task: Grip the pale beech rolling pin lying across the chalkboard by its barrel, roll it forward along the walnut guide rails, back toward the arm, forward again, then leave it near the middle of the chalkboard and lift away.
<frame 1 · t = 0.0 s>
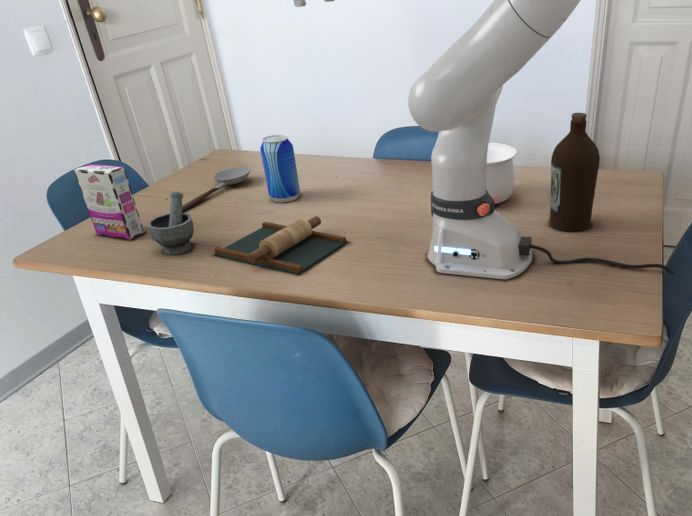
hand: (315, 3, 123), 48 cm above the table, tool pointing down, fingers open, 8 cm apart
candy bar box: (121, 234, 154), on the table
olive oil: (569, 224, 149), on the table
rolling pin: (286, 238, 141), point 3 cm above the table, slide at 0.0 cm
mortar and pestle: (179, 248, 146), on the table
spoon: (210, 196, 175), on the table
pot: (481, 200, 165), on the table
beer can: (285, 198, 171), on the table
chalkboard: (281, 248, 143), on the table
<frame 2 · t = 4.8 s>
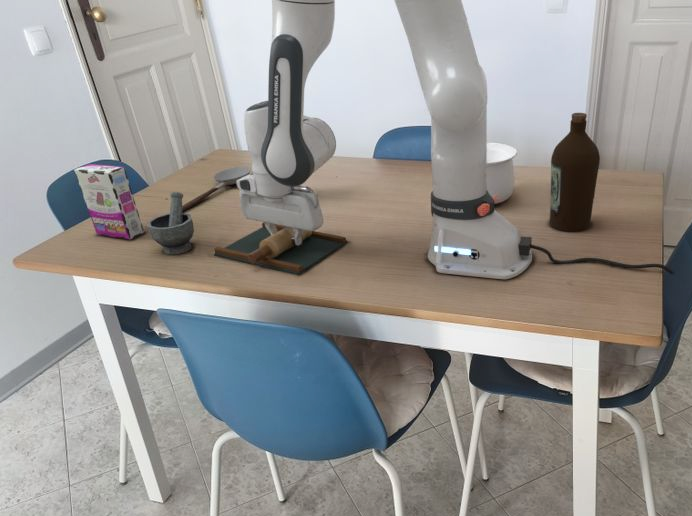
hand: (287, 242, 141), 2 cm above the table, tool pointing down, fingers closed on rolling pin, 4 cm apart
rolling pin: (286, 238, 141), point 3 cm above the table, slide at -0.1 cm, touching gripper
everything else where it was.
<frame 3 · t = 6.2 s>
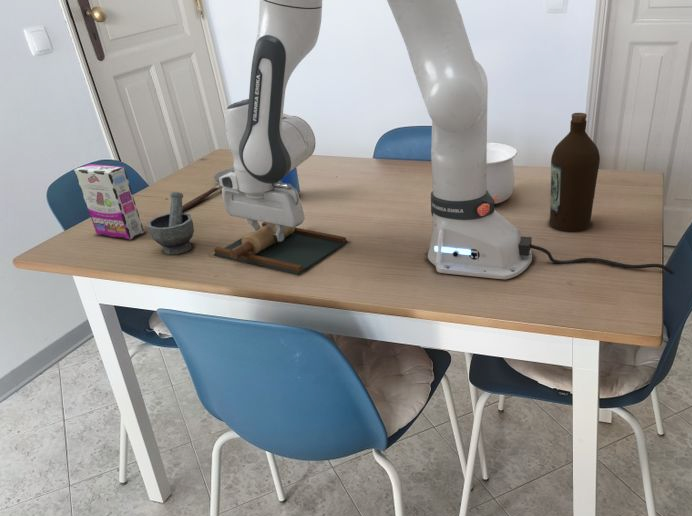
hand: (269, 238, 143), 2 cm above the table, tool pointing down, fingers closed on rolling pin, 4 cm apart
rolling pin: (269, 235, 143), point 3 cm above the table, slide at 5.0 cm, touching gripper
everything else where it was.
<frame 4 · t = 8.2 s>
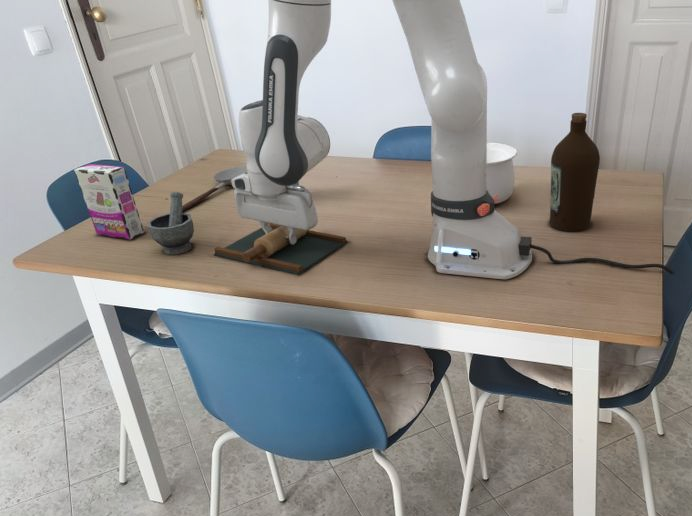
hand: (281, 241, 142), 2 cm above the table, tool pointing down, fingers closed on rolling pin, 4 cm apart
rolling pin: (281, 237, 141), point 3 cm above the table, slide at 1.5 cm, touching gripper
everything else where it was.
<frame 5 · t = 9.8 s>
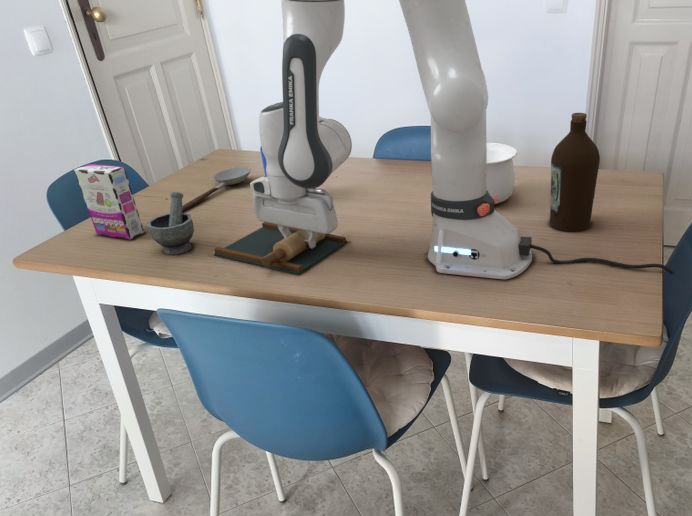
hand: (300, 244, 140), 2 cm above the table, tool pointing down, fingers closed on rolling pin, 4 cm apart
rolling pin: (300, 241, 139), point 3 cm above the table, slide at -3.9 cm, touching gripper
everything else where it was.
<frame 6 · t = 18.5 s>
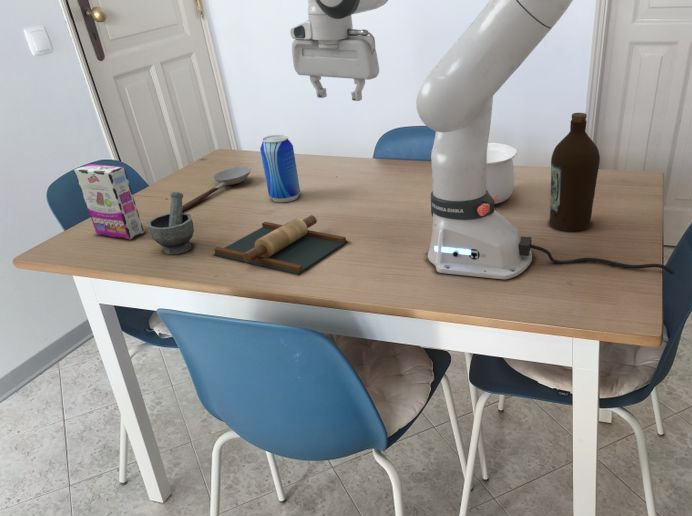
hand: (339, 98, 138), 29 cm above the table, tool pointing down, fingers open, 8 cm apart
rolling pin: (281, 237, 141), point 3 cm above the table, slide at 1.3 cm
everything else where it was.
at the end: rolling pin pulled out 7.8 cm at the most during the clip, back to 1.3 cm at the end; rolling pin pushed in 4.8 cm at the most during the clip, back to 1.3 cm at the end; rolling pin slide at 1.3 cm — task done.
